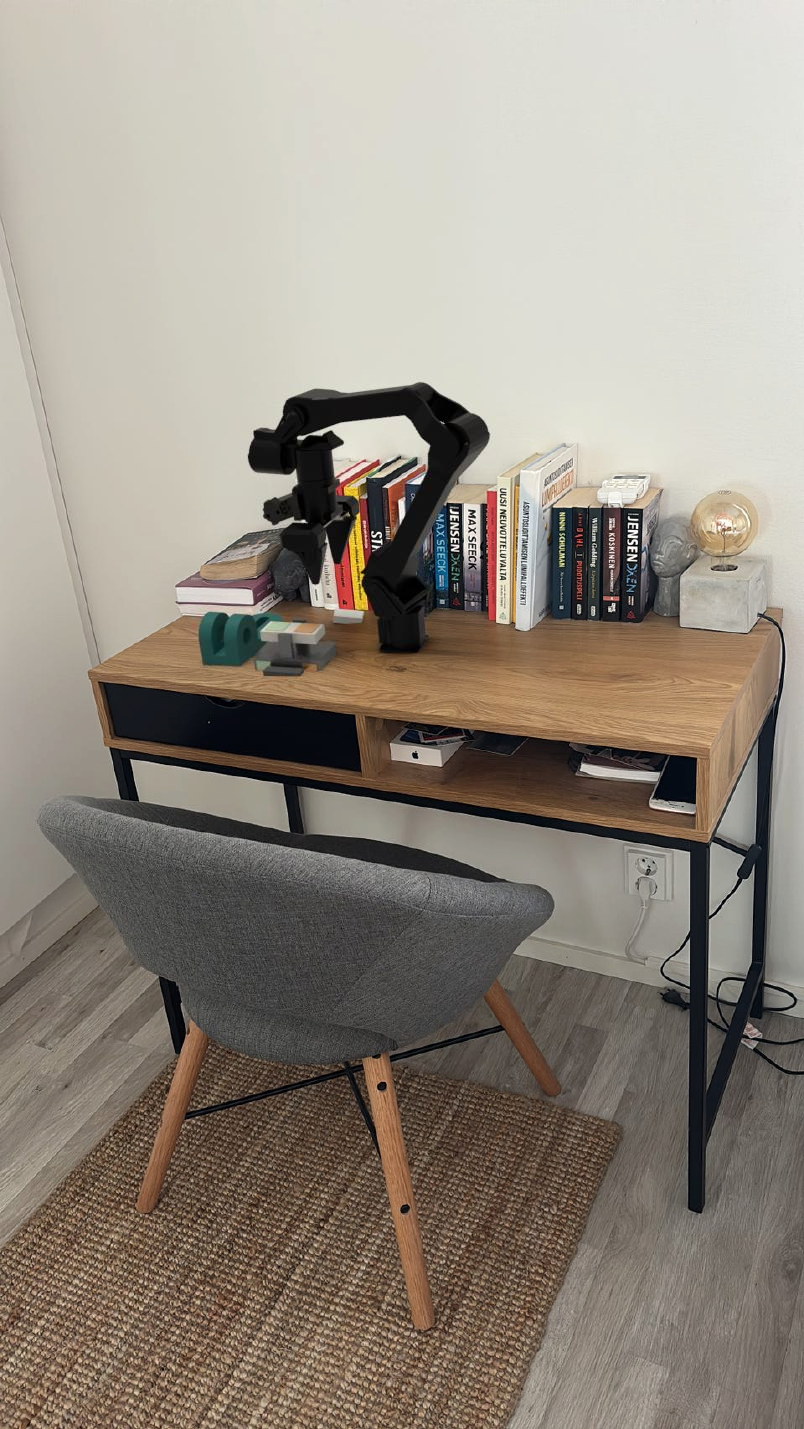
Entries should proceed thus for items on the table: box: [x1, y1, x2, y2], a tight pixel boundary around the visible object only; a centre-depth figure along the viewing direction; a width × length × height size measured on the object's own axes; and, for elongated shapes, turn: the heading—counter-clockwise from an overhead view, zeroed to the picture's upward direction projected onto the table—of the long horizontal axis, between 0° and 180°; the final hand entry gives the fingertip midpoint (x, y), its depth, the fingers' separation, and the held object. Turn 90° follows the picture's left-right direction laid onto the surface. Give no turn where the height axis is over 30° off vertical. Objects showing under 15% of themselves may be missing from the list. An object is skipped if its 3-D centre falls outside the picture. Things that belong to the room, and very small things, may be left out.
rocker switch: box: [260, 621, 326, 644], centre depth 177 cm, size 9×5×2 cm, turn 72°
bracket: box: [198, 611, 284, 667], centre depth 188 cm, size 18×7×8 cm, turn 159°
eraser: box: [332, 608, 364, 625], centre depth 195 cm, size 1×5×4 cm
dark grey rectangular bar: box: [262, 666, 305, 677], centre depth 175 cm, size 6×2×2 cm, turn 73°
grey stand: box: [252, 617, 338, 672], centre depth 178 cm, size 11×7×7 cm, turn 72°
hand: (326, 573), depth 182 cm, fingers open, 9 cm apart
